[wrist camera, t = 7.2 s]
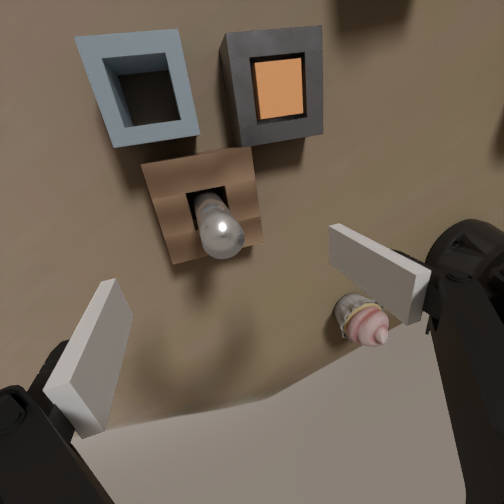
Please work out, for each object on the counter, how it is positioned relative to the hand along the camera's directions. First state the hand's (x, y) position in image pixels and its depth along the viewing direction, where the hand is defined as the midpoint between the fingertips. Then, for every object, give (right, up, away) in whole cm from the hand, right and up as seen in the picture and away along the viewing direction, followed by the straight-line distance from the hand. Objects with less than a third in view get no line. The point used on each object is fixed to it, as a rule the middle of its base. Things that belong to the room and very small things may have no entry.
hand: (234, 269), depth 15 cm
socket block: (-5, +8, +18) cm, 20 cm away
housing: (+3, +20, +15) cm, 25 cm away
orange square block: (+3, +20, +14) cm, 24 cm away
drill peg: (-5, +8, +18) cm, 20 cm away
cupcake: (+20, -10, +34) cm, 40 cm away
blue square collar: (-10, +18, +12) cm, 24 cm away
